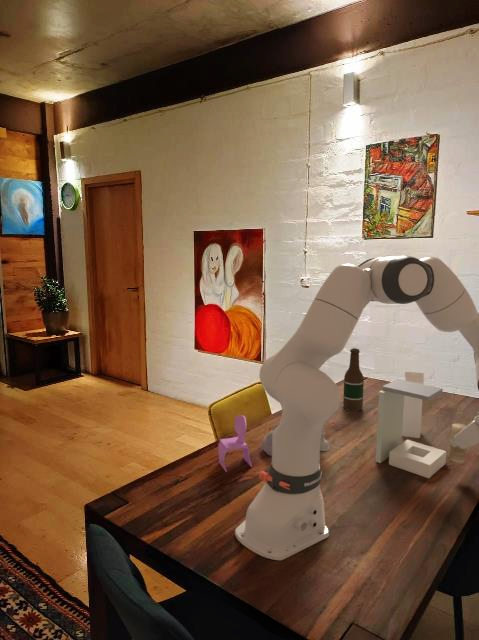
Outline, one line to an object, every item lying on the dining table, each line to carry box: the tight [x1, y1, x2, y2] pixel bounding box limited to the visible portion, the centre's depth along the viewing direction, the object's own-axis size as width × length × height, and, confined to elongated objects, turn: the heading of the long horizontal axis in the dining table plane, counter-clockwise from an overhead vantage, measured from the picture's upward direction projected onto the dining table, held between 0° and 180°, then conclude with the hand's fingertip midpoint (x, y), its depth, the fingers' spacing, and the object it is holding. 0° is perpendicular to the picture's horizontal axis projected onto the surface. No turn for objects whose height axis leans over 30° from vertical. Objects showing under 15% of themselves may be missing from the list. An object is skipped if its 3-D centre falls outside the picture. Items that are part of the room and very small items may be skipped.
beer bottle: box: [342, 348, 365, 412], centre depth 184 cm, size 8×8×24 cm
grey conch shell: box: [261, 422, 280, 457], centre depth 147 cm, size 12×12×11 cm
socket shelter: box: [375, 378, 447, 479], centre depth 139 cm, size 14×16×23 cm
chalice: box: [320, 420, 331, 452], centre depth 149 cm, size 7×7×18 cm
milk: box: [402, 371, 425, 439], centre depth 159 cm, size 6×6×22 cm
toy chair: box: [217, 414, 253, 473], centre depth 138 cm, size 8×9×15 cm
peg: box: [448, 423, 467, 464], centre depth 130 cm, size 4×4×10 cm
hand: (456, 441), depth 130 cm, fingers closed on peg, 4 cm apart
